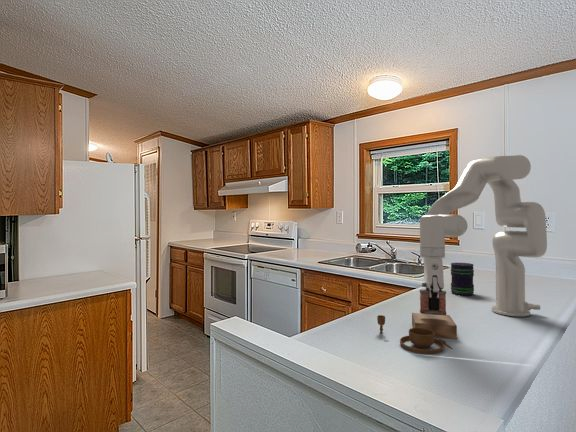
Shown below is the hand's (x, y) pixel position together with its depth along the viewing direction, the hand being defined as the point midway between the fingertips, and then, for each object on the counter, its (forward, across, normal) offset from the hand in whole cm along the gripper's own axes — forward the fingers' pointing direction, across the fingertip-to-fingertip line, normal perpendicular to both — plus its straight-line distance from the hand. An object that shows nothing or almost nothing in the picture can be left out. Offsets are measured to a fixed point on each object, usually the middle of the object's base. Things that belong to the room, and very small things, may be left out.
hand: (432, 308), depth 113 cm
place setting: (+8, -12, +7) cm, 16 cm away
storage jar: (+8, +59, -21) cm, 63 cm away
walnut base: (+7, 0, 0) cm, 7 cm away
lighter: (+2, 0, 0) cm, 2 cm away
